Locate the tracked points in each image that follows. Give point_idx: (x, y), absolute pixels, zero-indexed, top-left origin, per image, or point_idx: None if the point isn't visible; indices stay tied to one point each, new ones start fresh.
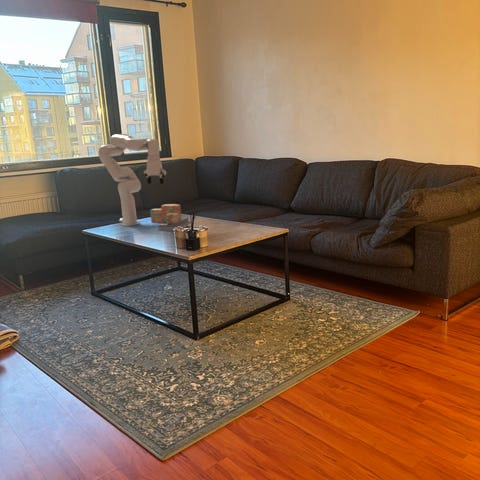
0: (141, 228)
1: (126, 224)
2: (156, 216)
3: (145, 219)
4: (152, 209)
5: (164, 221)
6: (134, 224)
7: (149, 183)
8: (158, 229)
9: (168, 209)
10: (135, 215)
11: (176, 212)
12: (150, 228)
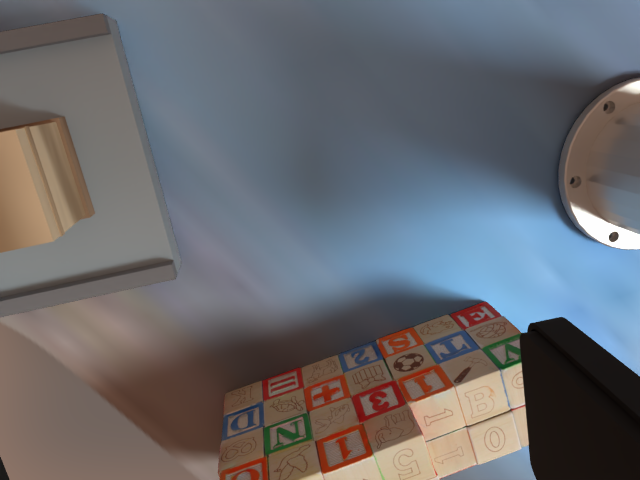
0: (381, 40)
1: (629, 83)
2: (450, 344)
3: None
4: None
5: (360, 350)
6: (567, 142)
7: (532, 371)
8: (112, 19)
9: (327, 439)
10: (635, 204)
11: (232, 449)
12: (283, 72)
